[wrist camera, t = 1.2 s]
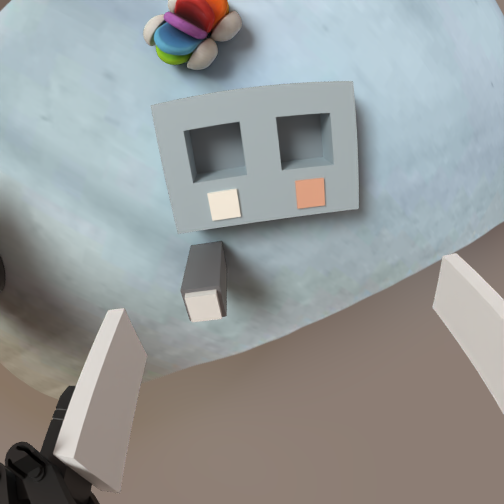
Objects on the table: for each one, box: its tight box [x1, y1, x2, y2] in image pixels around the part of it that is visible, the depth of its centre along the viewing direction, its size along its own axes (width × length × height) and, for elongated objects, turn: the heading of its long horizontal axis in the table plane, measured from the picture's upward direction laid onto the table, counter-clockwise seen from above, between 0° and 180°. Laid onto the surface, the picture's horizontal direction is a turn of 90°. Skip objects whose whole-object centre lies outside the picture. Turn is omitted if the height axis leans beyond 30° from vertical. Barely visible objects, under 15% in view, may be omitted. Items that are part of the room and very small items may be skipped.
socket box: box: [151, 81, 359, 234], centre depth 32 cm, size 20×14×5 cm
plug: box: [181, 241, 227, 322], centre depth 36 cm, size 4×4×11 cm
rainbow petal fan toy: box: [143, 0, 242, 70], centre depth 25 cm, size 8×10×7 cm
